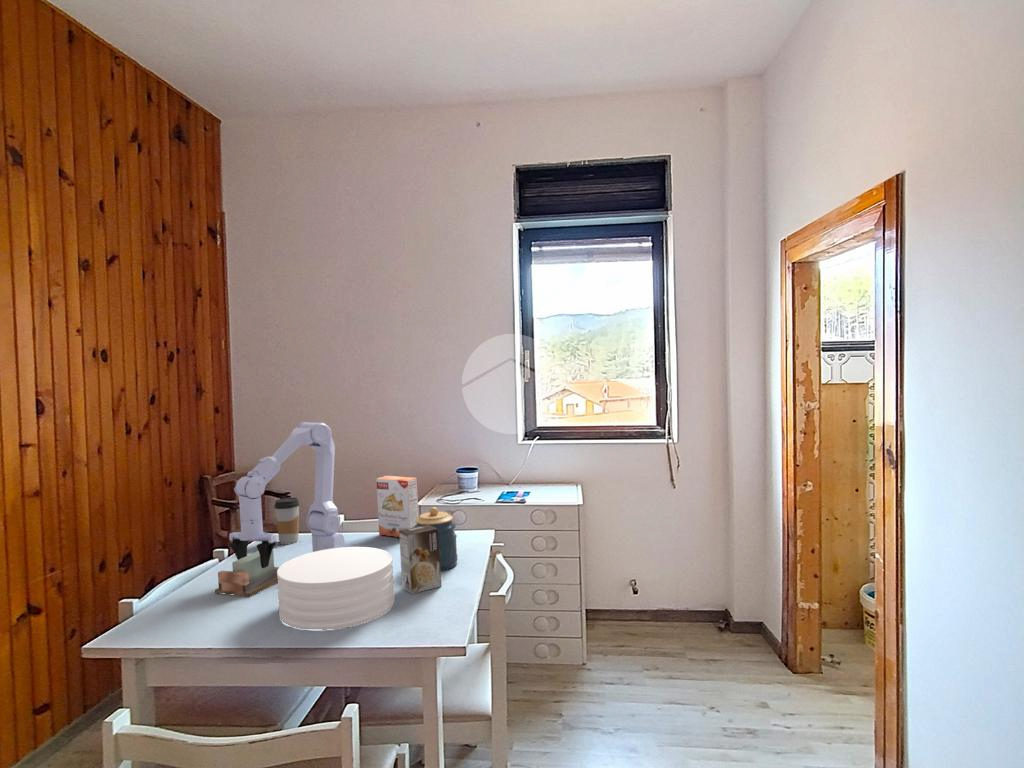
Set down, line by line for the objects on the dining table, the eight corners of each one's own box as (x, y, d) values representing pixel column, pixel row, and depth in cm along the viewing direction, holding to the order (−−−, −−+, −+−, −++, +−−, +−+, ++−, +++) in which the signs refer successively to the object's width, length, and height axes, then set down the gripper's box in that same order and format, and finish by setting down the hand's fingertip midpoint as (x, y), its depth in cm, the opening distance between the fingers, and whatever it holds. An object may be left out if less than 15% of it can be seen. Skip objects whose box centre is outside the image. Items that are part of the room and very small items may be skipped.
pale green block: (274, 573, 183) (273, 550, 182) (245, 588, 171) (244, 563, 171) (263, 572, 184) (261, 549, 183) (233, 587, 172) (232, 562, 172)
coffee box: (431, 580, 174) (429, 523, 174) (442, 586, 169) (439, 528, 168) (401, 588, 169) (398, 529, 169) (411, 595, 164) (408, 534, 163)
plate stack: (279, 598, 166) (277, 556, 165) (384, 581, 176) (383, 541, 175) (279, 641, 140) (276, 590, 139) (403, 618, 149) (401, 571, 149)
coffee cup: (296, 545, 215) (293, 502, 215) (272, 545, 215) (270, 502, 215) (304, 538, 223) (302, 496, 223) (281, 538, 224) (279, 497, 223)
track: (297, 572, 186) (296, 552, 186) (250, 596, 167) (249, 574, 167) (264, 569, 190) (263, 550, 190) (214, 593, 171) (213, 571, 171)
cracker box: (378, 536, 222) (375, 478, 221) (389, 531, 227) (386, 475, 227) (409, 540, 216) (407, 480, 215) (420, 535, 221) (417, 476, 220)
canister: (407, 571, 183) (404, 512, 182) (424, 557, 195) (421, 501, 195) (449, 573, 180) (446, 512, 179) (463, 559, 192) (461, 502, 192)
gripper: (220, 521, 175) (223, 569, 176) (262, 523, 171) (265, 572, 171) (238, 515, 182) (241, 561, 182) (279, 517, 177) (282, 564, 178)
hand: (254, 566), depth 177 cm, fingers open, 7 cm apart
